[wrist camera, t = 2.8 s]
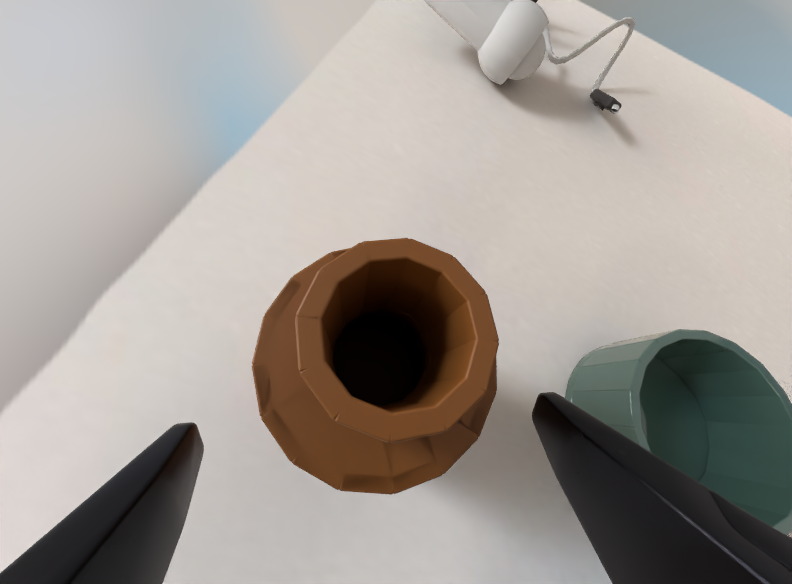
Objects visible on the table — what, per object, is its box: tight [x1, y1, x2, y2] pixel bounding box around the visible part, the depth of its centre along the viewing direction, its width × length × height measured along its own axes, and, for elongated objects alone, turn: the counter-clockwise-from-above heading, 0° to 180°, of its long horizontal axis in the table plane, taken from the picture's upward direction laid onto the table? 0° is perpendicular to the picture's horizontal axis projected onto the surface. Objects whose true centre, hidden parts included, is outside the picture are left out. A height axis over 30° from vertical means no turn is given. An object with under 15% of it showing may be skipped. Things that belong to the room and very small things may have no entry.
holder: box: [565, 329, 792, 535], centre depth 16 cm, size 9×9×5 cm
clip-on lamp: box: [425, 0, 635, 113], centre depth 25 cm, size 12×6×18 cm
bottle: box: [252, 238, 499, 494], centre depth 11 cm, size 6×6×13 cm
